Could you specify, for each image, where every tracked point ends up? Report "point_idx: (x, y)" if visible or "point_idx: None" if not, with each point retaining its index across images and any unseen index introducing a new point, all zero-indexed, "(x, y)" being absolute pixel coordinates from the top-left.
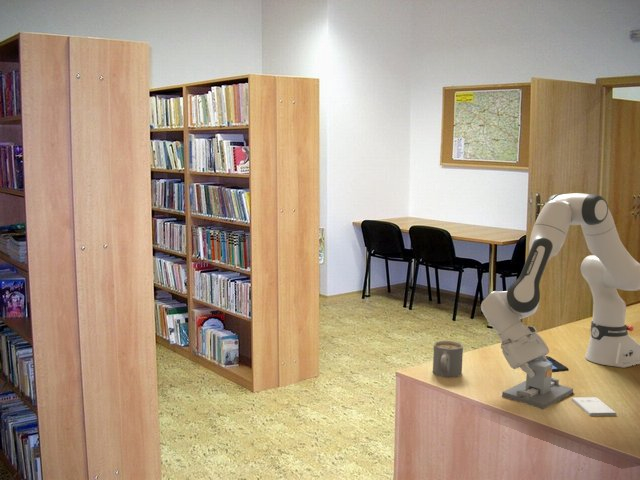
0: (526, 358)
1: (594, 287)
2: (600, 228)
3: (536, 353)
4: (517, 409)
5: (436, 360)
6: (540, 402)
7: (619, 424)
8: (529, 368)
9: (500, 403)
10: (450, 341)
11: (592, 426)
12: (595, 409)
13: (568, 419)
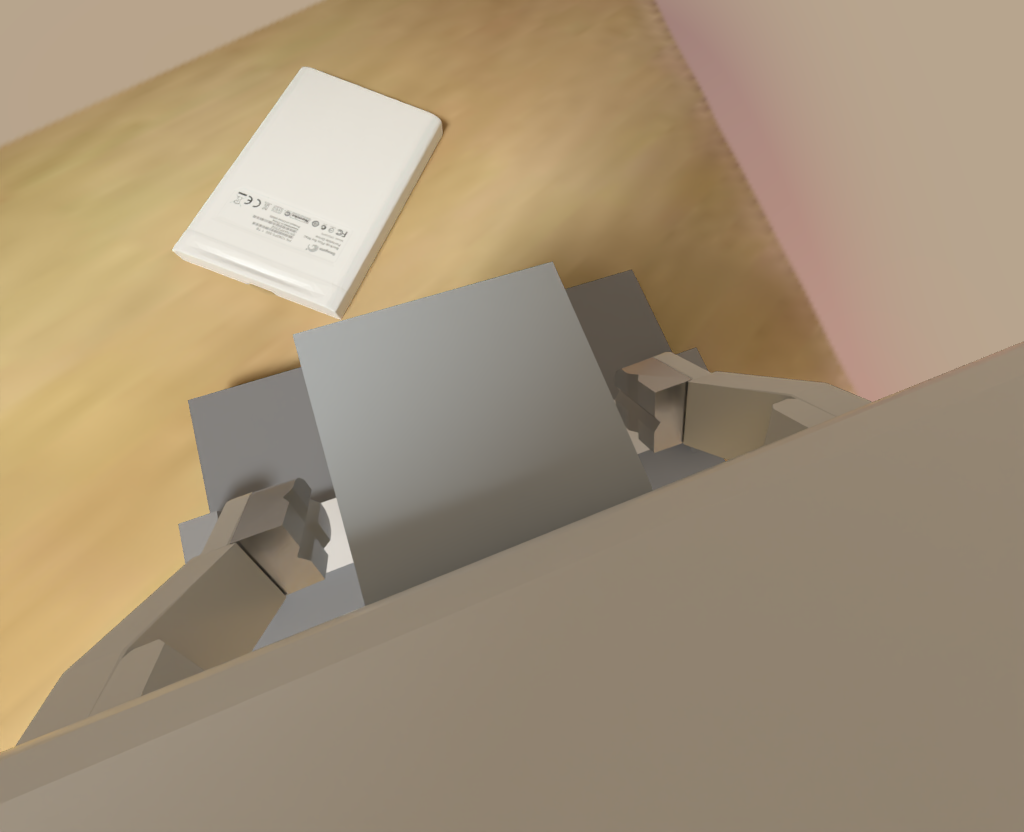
0: (924, 433)
1: None
2: None
3: (400, 684)
4: (764, 342)
5: None
6: (628, 299)
7: (392, 25)
8: (753, 380)
9: None
10: None
11: (532, 62)
12: (370, 131)
13: (582, 150)
